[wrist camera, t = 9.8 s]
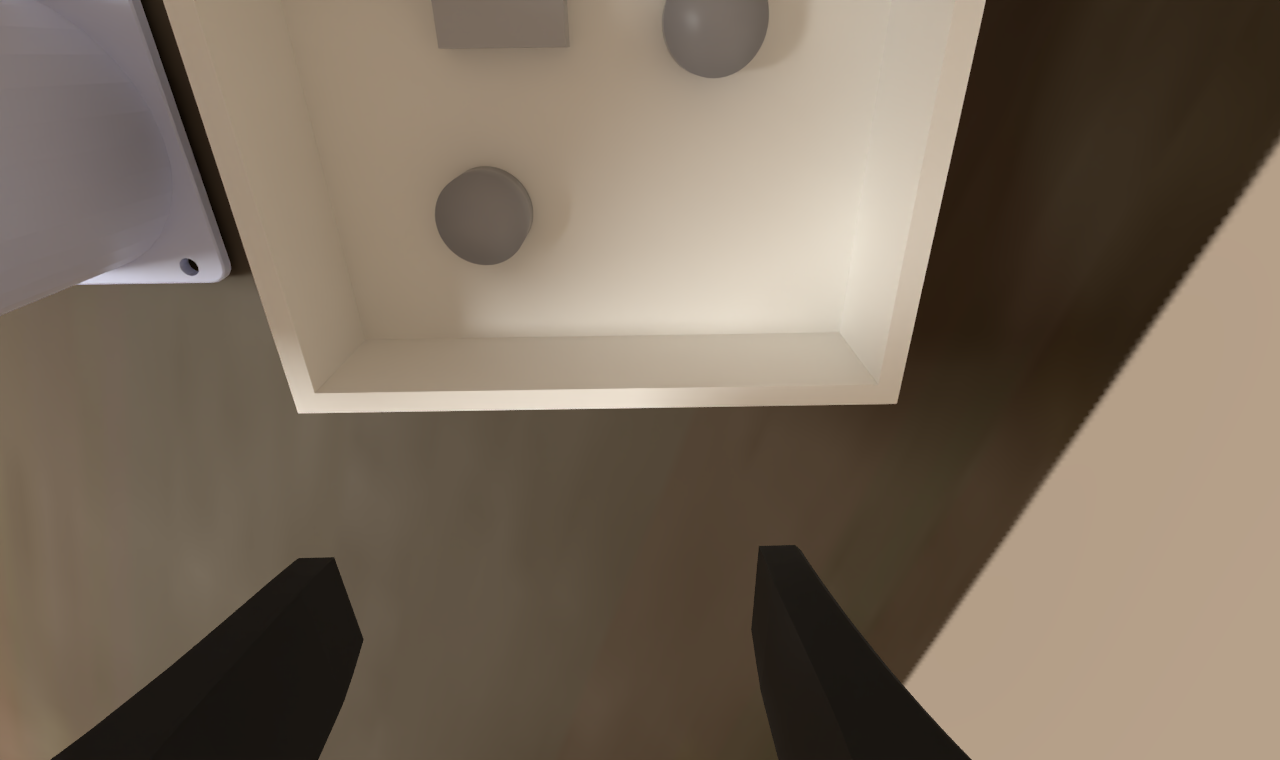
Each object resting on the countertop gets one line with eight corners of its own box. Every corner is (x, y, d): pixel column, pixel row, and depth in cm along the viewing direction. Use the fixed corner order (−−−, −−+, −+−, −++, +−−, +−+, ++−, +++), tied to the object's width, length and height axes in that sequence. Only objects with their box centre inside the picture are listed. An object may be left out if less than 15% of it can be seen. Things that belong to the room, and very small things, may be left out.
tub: (358, 349, 20) (298, 413, 16) (222, -179, 13) (77, -262, 10) (849, 341, 20) (897, 403, 16) (937, -187, 14) (1045, -272, 10)
